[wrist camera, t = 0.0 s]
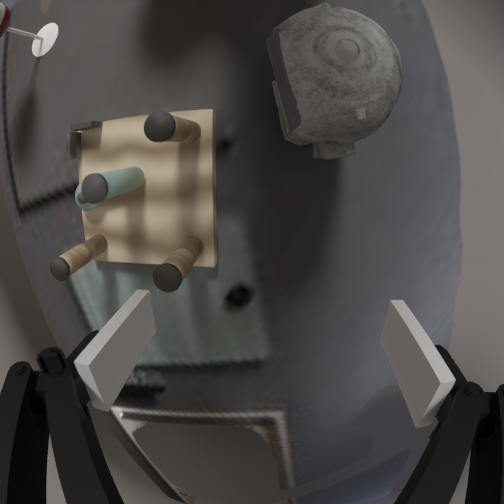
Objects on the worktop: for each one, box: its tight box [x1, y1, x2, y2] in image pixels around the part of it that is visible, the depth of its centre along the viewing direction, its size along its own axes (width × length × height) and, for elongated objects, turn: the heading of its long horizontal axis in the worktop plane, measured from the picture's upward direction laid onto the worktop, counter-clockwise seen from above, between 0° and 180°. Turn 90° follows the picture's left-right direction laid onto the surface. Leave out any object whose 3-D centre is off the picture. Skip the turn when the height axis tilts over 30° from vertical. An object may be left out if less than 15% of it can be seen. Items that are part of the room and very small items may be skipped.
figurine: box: [266, 3, 403, 159], centre depth 24 cm, size 10×14×25 cm
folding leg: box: [75, 167, 145, 211], centre depth 34 cm, size 12×4×11 cm, turn 104°
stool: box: [50, 109, 218, 292], centre depth 36 cm, size 22×22×14 cm
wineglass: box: [0, 3, 58, 57], centre depth 24 cm, size 8×9×20 cm
